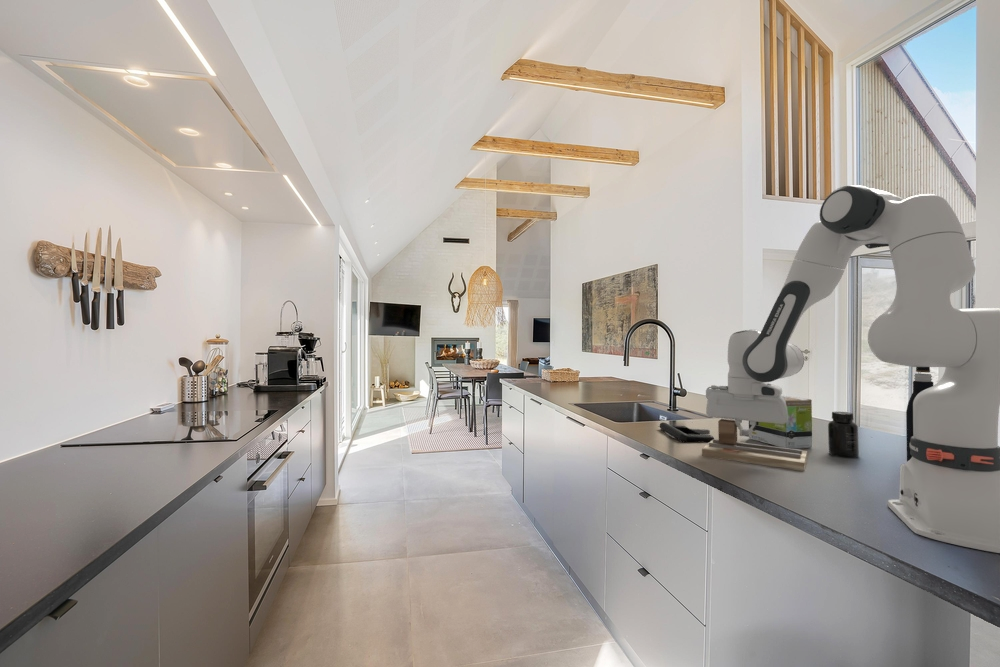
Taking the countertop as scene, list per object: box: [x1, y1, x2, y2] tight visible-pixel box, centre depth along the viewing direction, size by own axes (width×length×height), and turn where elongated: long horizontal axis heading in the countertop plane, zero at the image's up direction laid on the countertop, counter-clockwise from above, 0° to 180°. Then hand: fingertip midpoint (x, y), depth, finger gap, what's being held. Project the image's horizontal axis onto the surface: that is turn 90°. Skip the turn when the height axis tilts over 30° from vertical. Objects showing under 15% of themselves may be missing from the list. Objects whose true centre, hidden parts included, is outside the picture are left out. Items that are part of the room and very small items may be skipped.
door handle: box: [657, 421, 715, 443], centre depth 152 cm, size 3×20×16 cm
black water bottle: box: [905, 367, 934, 462], centre depth 112 cm, size 6×6×30 cm
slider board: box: [701, 438, 808, 472], centre depth 125 cm, size 14×24×3 cm, turn 53°
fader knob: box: [717, 418, 738, 446], centre depth 129 cm, size 5×4×7 cm
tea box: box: [748, 394, 813, 449], centre depth 141 cm, size 15×10×15 cm
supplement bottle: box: [827, 411, 860, 459], centre depth 126 cm, size 7×7×12 cm
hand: (745, 436), depth 126 cm, fingers closed
